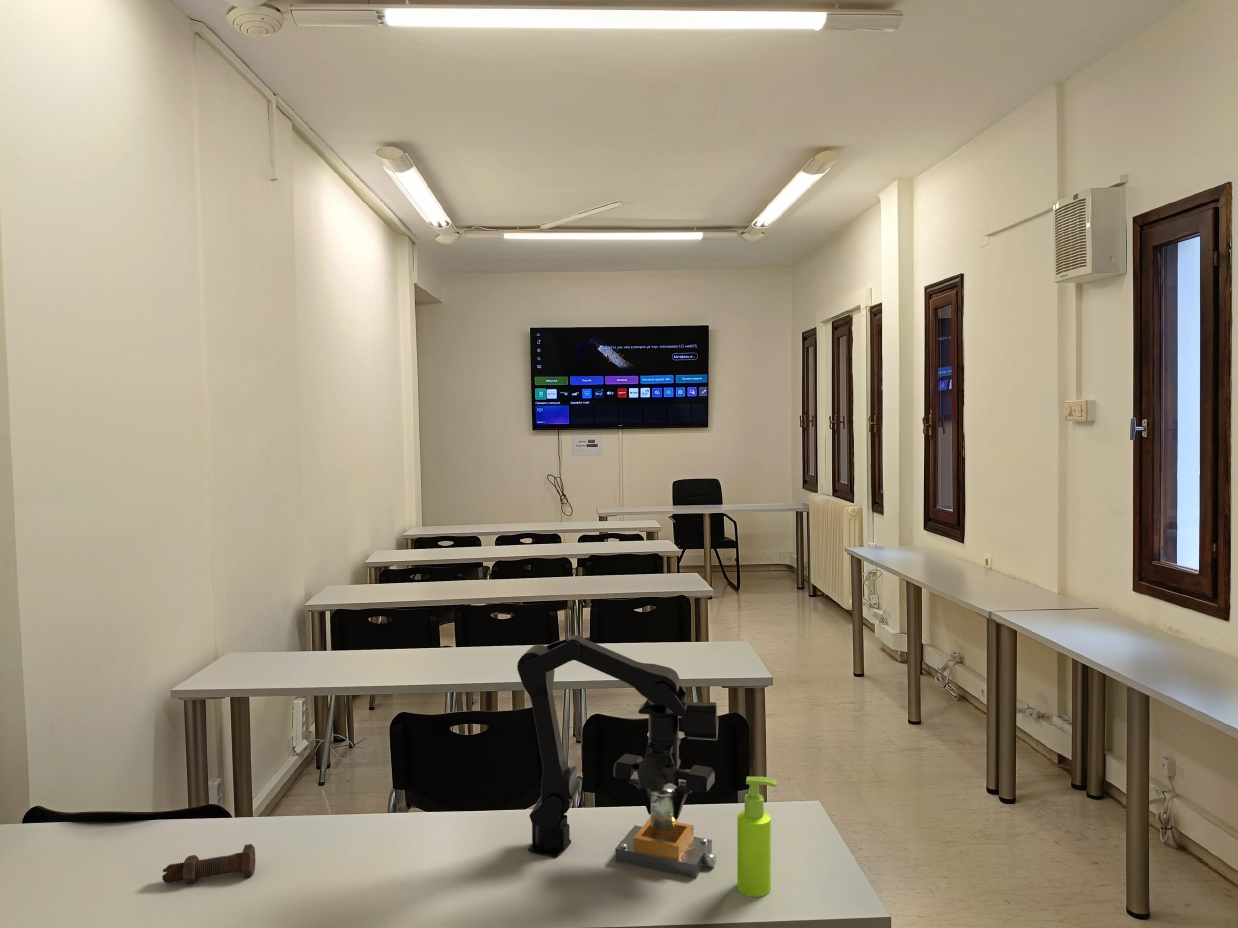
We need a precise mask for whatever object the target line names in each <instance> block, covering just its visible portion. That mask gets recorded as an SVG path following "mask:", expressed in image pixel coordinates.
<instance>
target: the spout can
mask: <svg viewBox="0 0 1238 928" xmlns="http://www.w3.org/2000/svg"><path fill="white" fill-rule="evenodd" d="M676 787H677V786H676V785H675V784H670V783H668V784H667V785H665V787H664V788H663V789H662V790H660V791H656V790H654V789H650V815H649V818H650V825H651V826H652V827H653V828H654V829H657V830H664V831H665V830H671V829H674V828H675V827H676V825H677V822H678V819H677V820H675V802H676V793H675V789H676Z"/></svg>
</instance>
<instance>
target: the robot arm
mask: <svg viewBox="0 0 1238 928" xmlns="http://www.w3.org/2000/svg"><path fill="white" fill-rule="evenodd" d="M572 661H575V662H577V663H581V664H582V665H585V666H587V667H589V668H592V669H594V670H597V671H599V672H601V673H603V674H605V675H607V676H610V677H612V678H614V679H616V680H619V681H621V682H623V683H626V684H628V685H629V686H630V687H632V688H634V690H636V692H637V693H639V694H640V695H641V696H642V697H644V698H645V699H646V700H645V702H643V703H642V704H641V705H640V707H639V708H638V714H639V715H648V743H647V744H646V749H645V753H644V757H642V756H641V755H635V754H630V753H625V754H623V755H622V756H621V757H620V758H619V759H618V760H617V761H616V762H615V763H614V764H613V777H614V778H616V779H621V780H626V781H628V782H629V784H630V785H633V786H635V787H636V788H637V789H638V790H639V793H640V794H641V797H642V800H643V803H644V805H645V808H646V811H647V814H648V815H649V816H650V789H654V790H656V791H660V790H662V789H663V788H664V787H665V785H667V784H668V783H670V784H673V785H675V782H676V780H677V781H678V785H677V786H676V789H675V793H676V802H675V820H677V821H678V820H679V817H680V815H681V812H682V809H683V807H684V805H685V802H686V799H687V797H688V795H689V794H691V793H692V792H697V793H701V794H705V793H708V791H709V790H710V788H711V787H712V786H713V784H714V783H715V782H716V781H715V780H716V779H715V776H716V775H715V771H714V770H713V768H712V767H709V766H703V765H699V764H694V765H693V766H692V767H691V769H681V768H680V765H681V758H679V757H680V756H679V754H680V752H679V751H680V750H679V746H680V744H681V738H680V737H679V736H680V735H679V734H680V733H679V732H680V731H679V730H681V733H683V736H684V737H687V739H688V740H689V739H690V740H691V739H692V740H705V741H706V740H707V741H718V735H719V716H718V708H717V706H718V705H717V702H713V701H711V702H710V701H709V702H697V701H696V702H694V701H690V700H691V698H690V696H689V695H688V693H687V692H686V690H685V689H684V688H683V686H682V685H681V680H680V677H679V674H678V673H677V671H676V670H674V669H673V668H671V667H669V666H664V665H661V664H656V663H649V662H647V663H646V662H641V661H637V660H634V659H632V658H630V657H627V656H625V655H623V654H620V653H619V652H616V651H614V650H612V649H610V648H606V647H605V646H602V645H600V644H597V643H595V642H593V641H591V640H589V639H586V638H585V637H584V636H583V635H580V634H574V635H571V636H570V637H568V638H564V639H560V640H557V641H554V642H552V643H550V644H547V645H544V644H535V645H533V646H531V647H530V648H528V650H527V651H525V653H523V654H522V656H521V657H520V658H519V659H518V661H517V665H516V668H517V673H518V676H519V679H520V681H521V683H522V686H523V688H524V689H525V691H526V693H527V694H528V696H529V698H530V701H531V702H530V703H531V707H532V709H531V710H532V713H533V718H534V725H535V730H536V736H537V737H536V738H537V742H538V748H539V753H540V759H541V766H542V773H541V774H542V775H541V784H540V797H539V799H538V800H537V802H536V803H535V805H534V807H533V809H532V810H531V811H530V814H529V818H530V819H529V820H530V822H531V836H532V837H531V841H532V842H531V845H529V847H528V849H527V851H528V852H531V853H535V854H538V855H539V854H541V855H545V856H549V857H552V858H553V857H554V858H557V857H559V856H560V855H561V854H562V853H563V852H564V851H565V850H567V848H568V846H570V845H571V843H572V839H570V824H569V823H568V815H567V814H566V813H568V811H569V809H570V808H571V807H572V804H573V802H574V800H575V798H576V796H577V793H578V789H580V785H581V784H580V782H579V780H578V777H577V766H571V767H570V766H569V765H568V764H567V762H566V758H565V755H564V749H563V743H562V736H561V731H560V725H559V719H558V716H557V708H556V703H555V697H554V691H553V689H554V681H555V669H558V668H560V667H561V666H563V665H566V664H567V663H569V662H572ZM679 717H681V722H680V721H679V719H680V718H679ZM680 723H681V729H679V728H680V725H679V724H680Z"/></svg>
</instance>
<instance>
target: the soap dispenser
mask: <svg viewBox="0 0 1238 928" xmlns="http://www.w3.org/2000/svg"><path fill="white" fill-rule="evenodd" d="M745 782H746V783H745V784H746V785H749V789H748V790H749V793H747V794H745V795H744V809H743V810H741V811H739V812H738V813H737V819H736V820H737V831H736V832H737V835H736V836H737V839H736V840H737V842H736V843H737V844H736V845H737V846H736V847H737V848H736V850H737V853H736V855H737V858H736V860H737V865H736V866H737V867H736V868H737V874H736V875H737V877H736V880H737V881H736V884H737V885H736V888H737V890H738V891H739V892H740V893H741V894H743V895H745V896H748V897H753V898H759V897H764V896H767V895H768V894H769V893H770V892H771V882H772V881H771V878H772V876H771V875H772V873H771V869H772V867H771V862H772V861H771V859H772V858H771V855H772V854H771V853H772V852H771V851H772V850H771V849H772V845H771V843H772V842H771V840H772V836H771V834H772V832H771V831H772V826H771V825H772V824H771V823H772V817H771V815H770V814H769V812H766V811H765V810H764V809H765V808H764V806H765V805H764V803H765V800H764V799H765V798H764V795H762V794H760V785H763V786H765V785H766V786H770V787H773V788H775V787H776V786H777V785H778V780H776V779H773V778H770V777H766V776H746V780H745Z"/></svg>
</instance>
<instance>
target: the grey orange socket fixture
mask: <svg viewBox="0 0 1238 928" xmlns="http://www.w3.org/2000/svg"><path fill="white" fill-rule="evenodd" d="M694 827H695V826H694V824H689V823H682V822H678V821H677V825H676V827H675V828H674V829H671V830H665V831H664V830H657V829H654V828H653V827H652V826H651V825H650V817H649V818H648V820H647V821H646V822H645V823H644V825H641V826H640V825H634V826H633V827H632V828H631V829H630V830H629V832H628V833H627V834H626V835H625V836H624V837H623V838H622V840H621V841H620V842H619V844H617V846H616V847H615V850H614V851H615V862H618V863H622V864H627V865H632V866H637V867H641V868H646V869H651V870H655V871H660V872H664V873H669V874H674V875H678V874H679V875H678V876H684V877H687V876H688V877H687V878H692V877H693V878H692V879H697V878H698V876H699V875H700V873H701V871H702V869H703V868H704V866H709V867H715V866H716V862H717V855H716V854H712V853H713V847H712V846H713V841H712V839H708V838H705V837H704V838H703V837H698V836H695V835H694V834H695V832H694V830H695V828H694ZM698 874H699V875H698Z"/></svg>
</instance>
